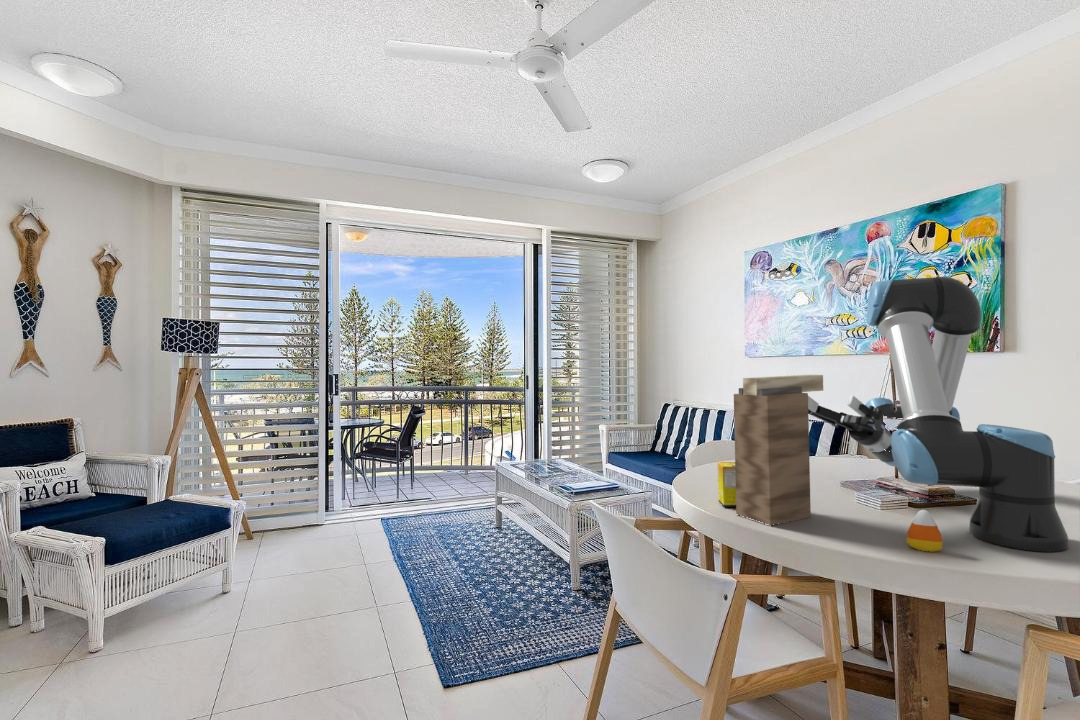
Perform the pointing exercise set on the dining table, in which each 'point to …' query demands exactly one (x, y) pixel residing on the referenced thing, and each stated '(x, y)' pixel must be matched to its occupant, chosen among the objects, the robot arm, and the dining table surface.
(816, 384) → the maple bar
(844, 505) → the dining table surface
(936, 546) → the candy corn
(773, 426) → the walnut stand
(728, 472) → the supplement box
